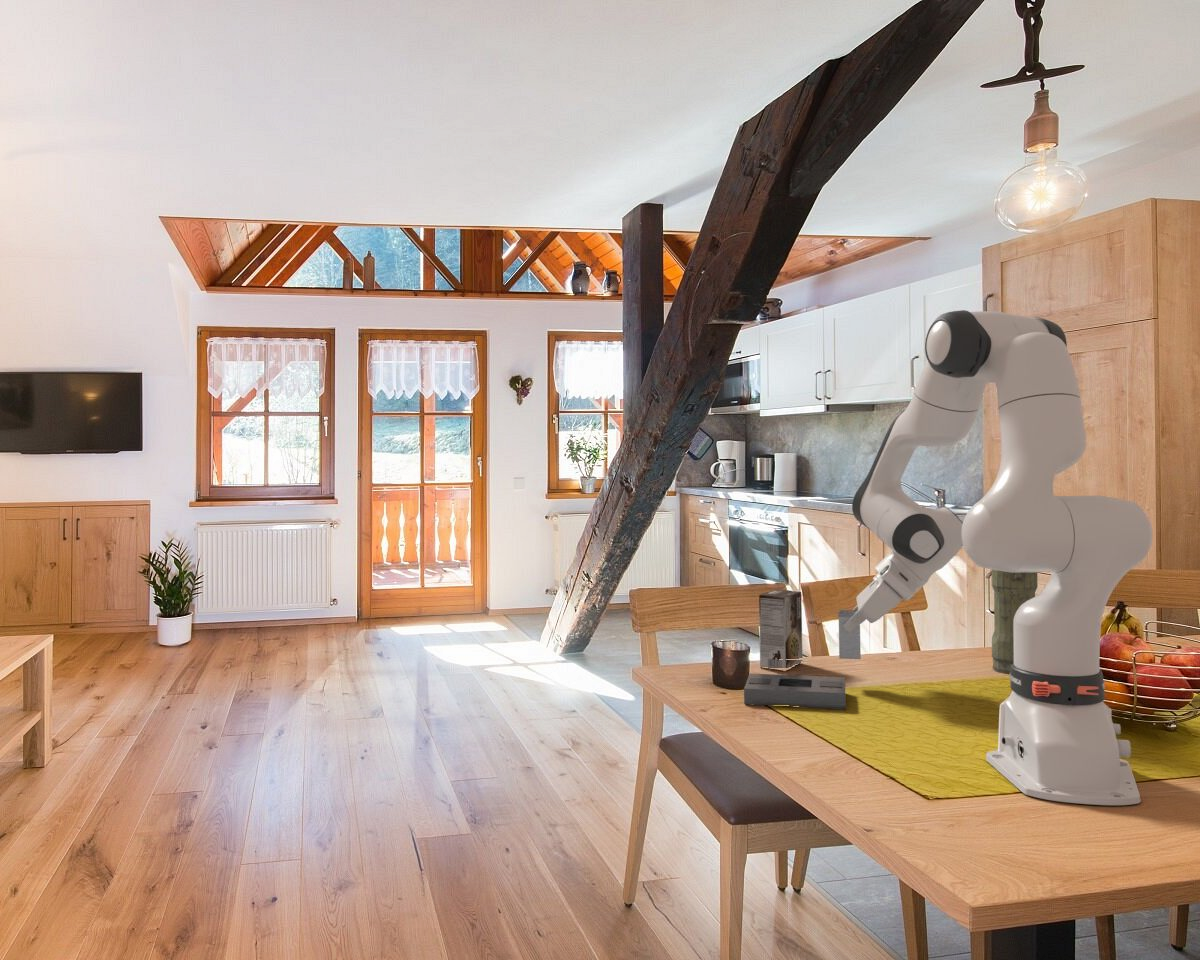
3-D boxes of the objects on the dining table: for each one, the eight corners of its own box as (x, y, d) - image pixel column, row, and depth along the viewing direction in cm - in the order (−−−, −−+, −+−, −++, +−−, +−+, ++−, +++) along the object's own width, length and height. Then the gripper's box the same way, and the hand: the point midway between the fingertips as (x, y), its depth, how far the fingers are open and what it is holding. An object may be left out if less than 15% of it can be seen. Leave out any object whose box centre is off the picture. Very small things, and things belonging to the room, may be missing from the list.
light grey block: (860, 659, 173) (860, 613, 173) (839, 658, 174) (838, 612, 174) (860, 655, 177) (859, 610, 177) (839, 654, 178) (838, 609, 178)
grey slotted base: (845, 709, 159) (845, 692, 159) (744, 704, 163) (743, 687, 163) (844, 693, 170) (844, 676, 170) (749, 688, 175) (749, 672, 175)
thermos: (1027, 664, 192) (1026, 502, 191) (1047, 677, 180) (1046, 505, 180) (984, 663, 193) (983, 502, 193) (1001, 676, 182) (1000, 505, 181)
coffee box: (776, 660, 200) (775, 588, 199) (803, 663, 196) (802, 590, 196) (758, 668, 192) (757, 594, 192) (786, 672, 188) (785, 596, 188)
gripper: (882, 561, 184) (834, 608, 186) (887, 571, 164) (834, 623, 166) (905, 583, 183) (856, 629, 185) (913, 595, 163) (859, 647, 165)
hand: (845, 626), depth 176 cm, fingers closed on light grey block, 4 cm apart
